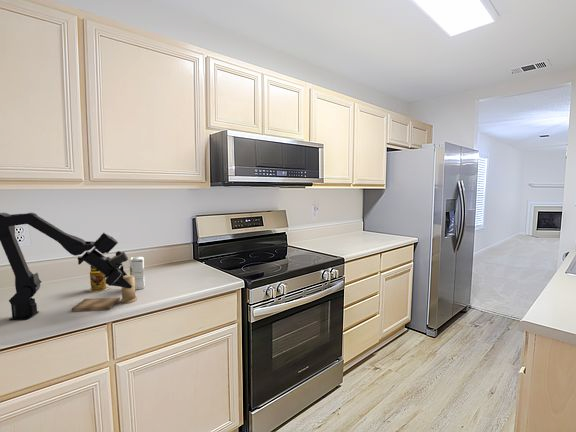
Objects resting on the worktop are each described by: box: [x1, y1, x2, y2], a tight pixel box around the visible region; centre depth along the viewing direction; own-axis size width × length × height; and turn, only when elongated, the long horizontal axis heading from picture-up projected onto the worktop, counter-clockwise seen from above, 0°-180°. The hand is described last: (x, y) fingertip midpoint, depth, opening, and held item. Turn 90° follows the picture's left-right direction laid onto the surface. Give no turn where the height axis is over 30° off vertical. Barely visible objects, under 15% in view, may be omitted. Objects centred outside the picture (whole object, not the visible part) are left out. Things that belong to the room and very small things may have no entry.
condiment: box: [85, 265, 110, 294], centre depth 148 cm, size 7×8×12 cm
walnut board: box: [71, 297, 121, 312], centre depth 129 cm, size 14×10×1 cm
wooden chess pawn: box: [120, 274, 138, 304], centre depth 134 cm, size 6×6×10 cm
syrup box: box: [129, 256, 146, 291], centre depth 150 cm, size 6×6×14 cm
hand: (131, 284), depth 134 cm, fingers open, 9 cm apart
